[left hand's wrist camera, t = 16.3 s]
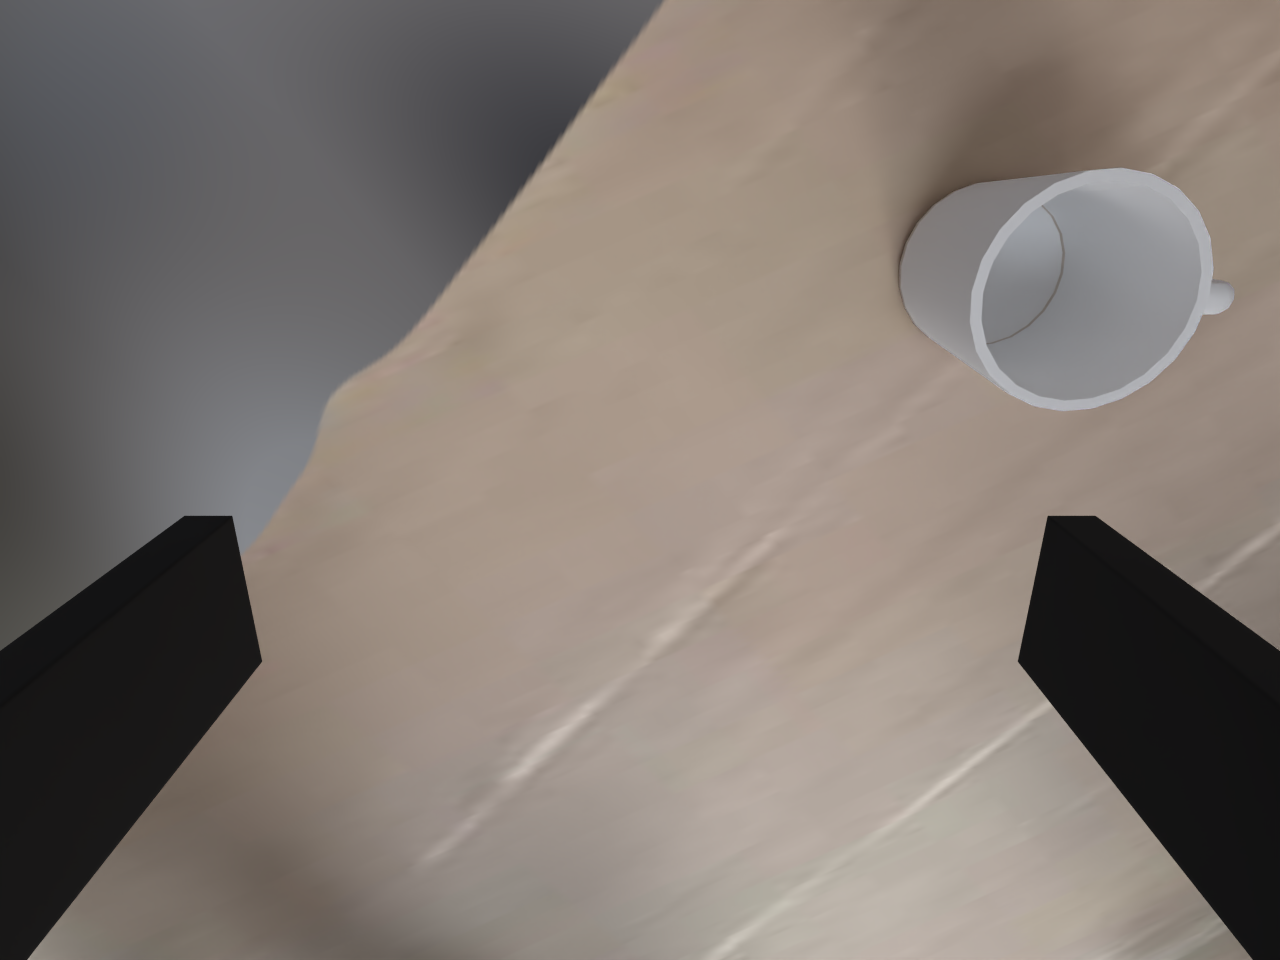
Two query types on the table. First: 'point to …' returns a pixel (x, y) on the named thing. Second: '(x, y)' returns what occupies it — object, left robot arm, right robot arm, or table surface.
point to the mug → (1063, 282)
